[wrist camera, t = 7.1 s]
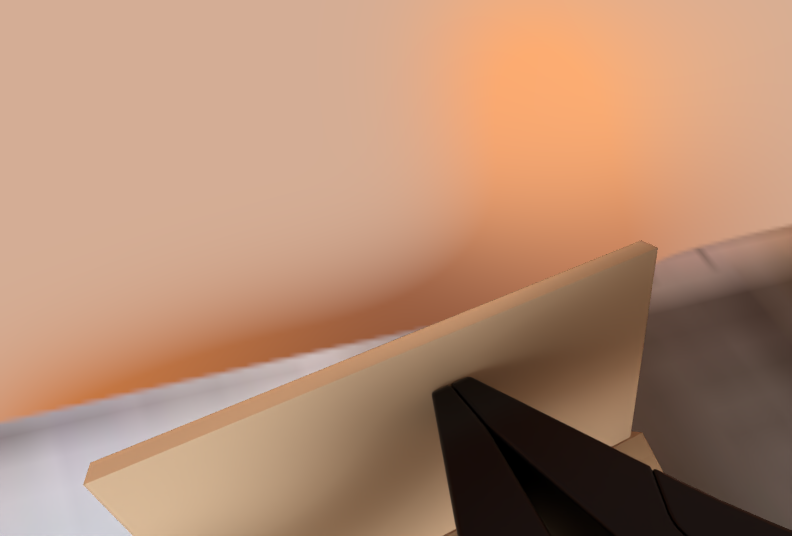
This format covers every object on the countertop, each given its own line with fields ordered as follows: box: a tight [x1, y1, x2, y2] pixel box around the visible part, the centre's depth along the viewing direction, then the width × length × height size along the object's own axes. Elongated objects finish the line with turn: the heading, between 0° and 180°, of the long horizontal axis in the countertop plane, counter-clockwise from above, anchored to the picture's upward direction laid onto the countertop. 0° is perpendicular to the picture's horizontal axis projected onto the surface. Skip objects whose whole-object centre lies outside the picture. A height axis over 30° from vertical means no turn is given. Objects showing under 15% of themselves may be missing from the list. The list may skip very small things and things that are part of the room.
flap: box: [83, 241, 658, 536], centre depth 9 cm, size 6×11×1 cm
